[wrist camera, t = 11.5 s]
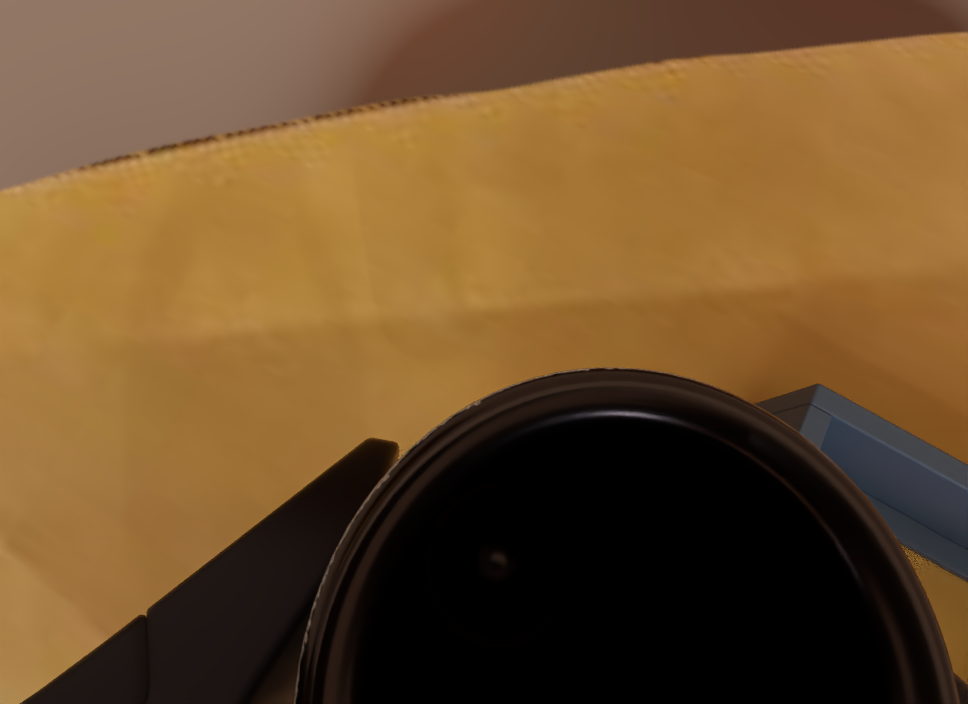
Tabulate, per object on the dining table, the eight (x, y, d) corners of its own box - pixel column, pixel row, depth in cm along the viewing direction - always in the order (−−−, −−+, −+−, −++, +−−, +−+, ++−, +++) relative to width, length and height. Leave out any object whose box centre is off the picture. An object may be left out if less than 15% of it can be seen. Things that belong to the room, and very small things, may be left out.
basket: (1030, 1028, 17) (1233, 1209, 13) (591, 755, 18) (638, 835, 14) (1114, 613, 21) (1295, 643, 16) (743, 406, 22) (819, 381, 18)
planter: (553, 443, 14) (797, 297, 4) (614, 626, 13) (1117, 966, 3) (381, 496, 14) (223, 462, 4) (431, 693, 13) (392, 1362, 3)
